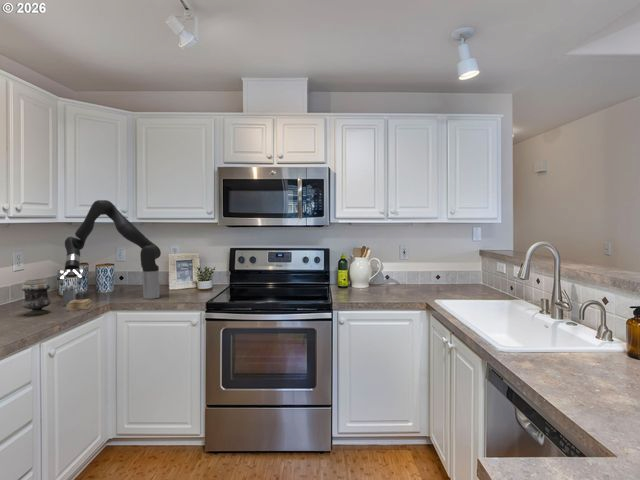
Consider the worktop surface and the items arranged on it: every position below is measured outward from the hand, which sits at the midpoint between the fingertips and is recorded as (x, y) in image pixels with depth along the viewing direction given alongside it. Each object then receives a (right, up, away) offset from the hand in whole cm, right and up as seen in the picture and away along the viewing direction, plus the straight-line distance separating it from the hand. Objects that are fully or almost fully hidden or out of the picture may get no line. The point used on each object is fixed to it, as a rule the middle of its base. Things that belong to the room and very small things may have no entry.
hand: (70, 284), depth 216 cm
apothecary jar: (-1, -13, -24) cm, 27 cm away
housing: (+3, -11, -5) cm, 13 cm away
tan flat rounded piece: (+14, -12, -13) cm, 22 cm away
